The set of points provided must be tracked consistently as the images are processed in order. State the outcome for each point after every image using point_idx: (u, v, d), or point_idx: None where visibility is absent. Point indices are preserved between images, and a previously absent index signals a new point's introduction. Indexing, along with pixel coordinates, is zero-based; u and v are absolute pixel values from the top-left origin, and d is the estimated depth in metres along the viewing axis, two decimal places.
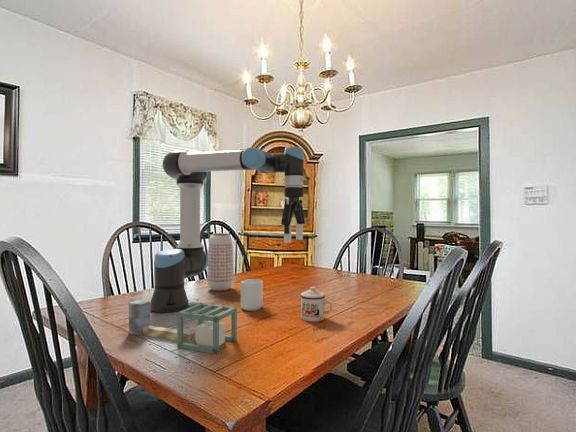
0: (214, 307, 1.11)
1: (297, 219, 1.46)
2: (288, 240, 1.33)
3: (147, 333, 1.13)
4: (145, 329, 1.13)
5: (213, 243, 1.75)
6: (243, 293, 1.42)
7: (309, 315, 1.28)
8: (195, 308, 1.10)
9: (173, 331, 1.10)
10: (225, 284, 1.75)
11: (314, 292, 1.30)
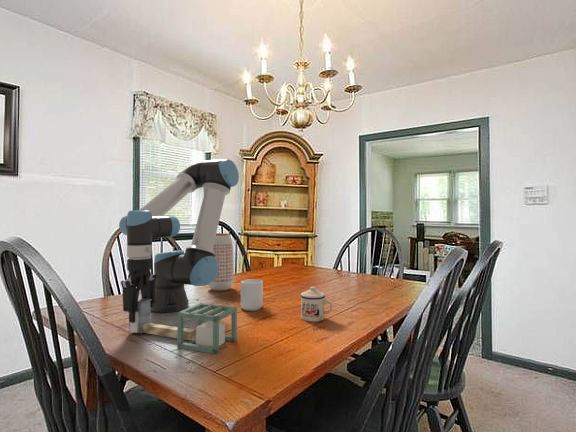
0: (214, 307, 1.11)
1: None
2: (134, 330, 1.13)
3: (147, 331, 1.13)
4: (145, 327, 1.13)
5: None
6: (243, 293, 1.42)
7: (309, 315, 1.28)
8: (195, 308, 1.10)
9: (173, 328, 1.10)
10: (225, 284, 1.75)
11: (314, 292, 1.30)
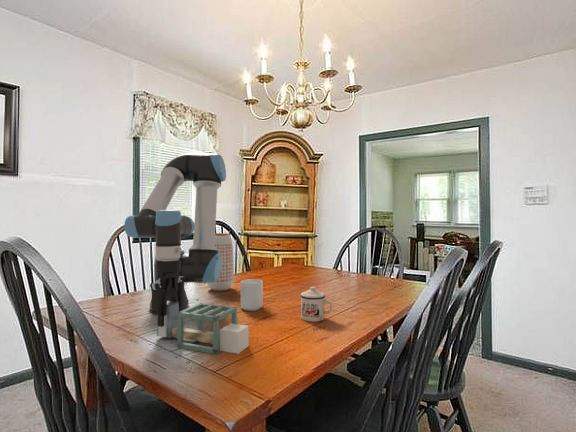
0: (214, 307, 1.11)
1: None
2: (163, 334, 1.09)
3: (176, 335, 1.09)
4: (174, 331, 1.09)
5: None
6: (243, 293, 1.42)
7: (309, 315, 1.28)
8: (195, 308, 1.10)
9: (204, 333, 1.06)
10: (225, 284, 1.75)
11: (314, 292, 1.30)
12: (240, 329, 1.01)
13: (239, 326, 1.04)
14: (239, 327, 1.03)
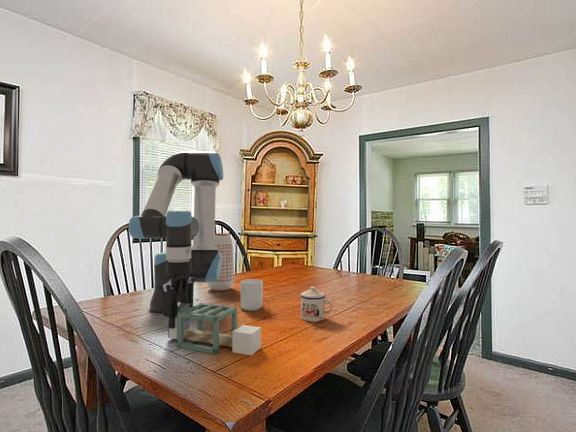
0: (214, 307, 1.11)
1: None
2: (174, 336, 1.08)
3: (187, 337, 1.08)
4: (185, 333, 1.08)
5: None
6: (243, 293, 1.42)
7: (309, 315, 1.28)
8: (195, 308, 1.10)
9: None
10: (225, 284, 1.75)
11: (314, 292, 1.30)
12: (253, 331, 1.00)
13: (251, 328, 1.03)
14: (251, 329, 1.02)
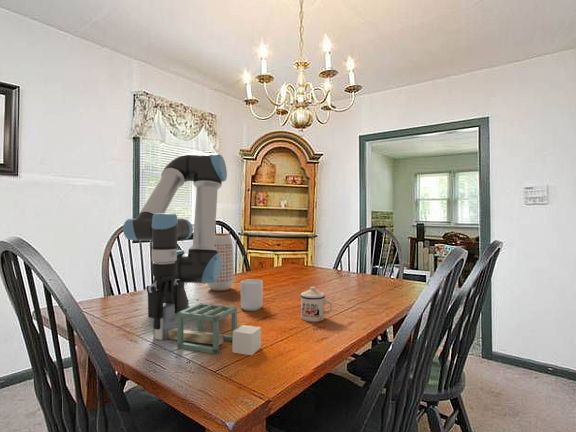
0: (214, 307, 1.11)
1: None
2: (159, 337, 1.09)
3: (172, 337, 1.09)
4: (170, 333, 1.10)
5: None
6: (243, 293, 1.42)
7: (309, 315, 1.28)
8: (195, 308, 1.10)
9: (200, 334, 1.07)
10: (225, 284, 1.75)
11: (314, 292, 1.30)
12: (253, 331, 1.00)
13: (251, 328, 1.03)
14: (251, 329, 1.02)
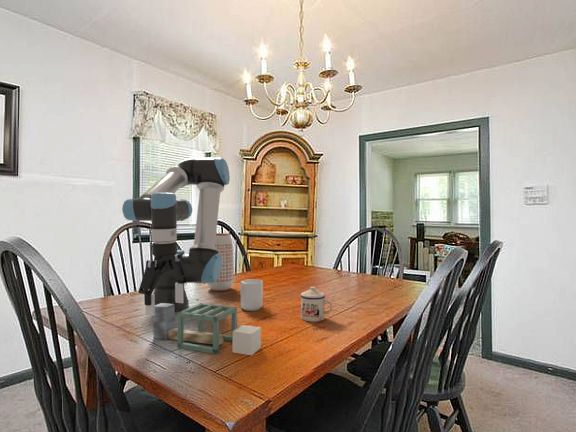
0: (214, 307, 1.11)
1: (176, 278, 1.18)
2: (150, 313, 1.06)
3: (172, 337, 1.09)
4: (170, 333, 1.10)
5: None
6: (243, 293, 1.42)
7: (309, 315, 1.28)
8: (195, 308, 1.10)
9: (200, 334, 1.07)
10: (225, 284, 1.75)
11: (314, 292, 1.30)
12: (253, 331, 1.00)
13: (251, 328, 1.03)
14: (251, 329, 1.02)
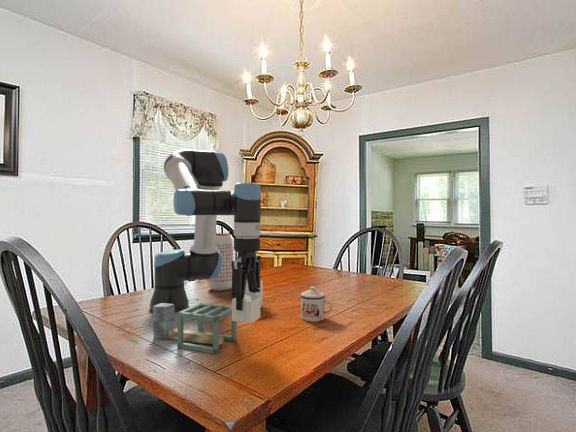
0: (214, 307, 1.11)
1: (249, 284, 1.05)
2: (241, 319, 0.98)
3: (172, 337, 1.09)
4: (170, 333, 1.10)
5: None
6: None
7: (309, 315, 1.28)
8: (195, 308, 1.10)
9: (200, 334, 1.07)
10: (225, 284, 1.75)
11: (314, 292, 1.30)
12: (252, 299, 1.00)
13: (250, 297, 1.03)
14: (251, 297, 1.02)
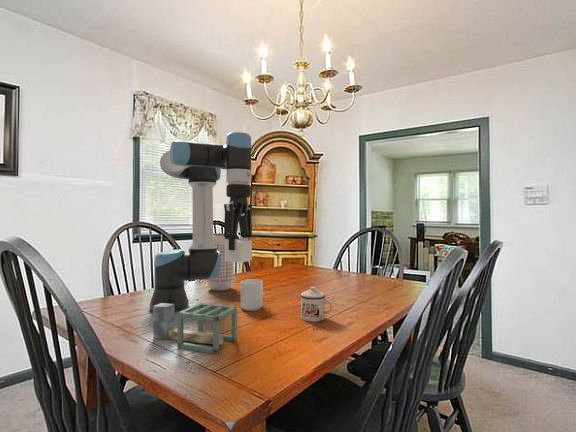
0: (214, 307, 1.11)
1: (241, 229, 1.12)
2: (234, 258, 1.06)
3: (172, 337, 1.09)
4: (170, 333, 1.10)
5: (213, 243, 1.75)
6: (243, 293, 1.42)
7: (309, 315, 1.28)
8: (195, 308, 1.10)
9: (200, 334, 1.07)
10: (225, 284, 1.75)
11: (314, 292, 1.30)
12: (244, 241, 1.07)
13: None
14: None
